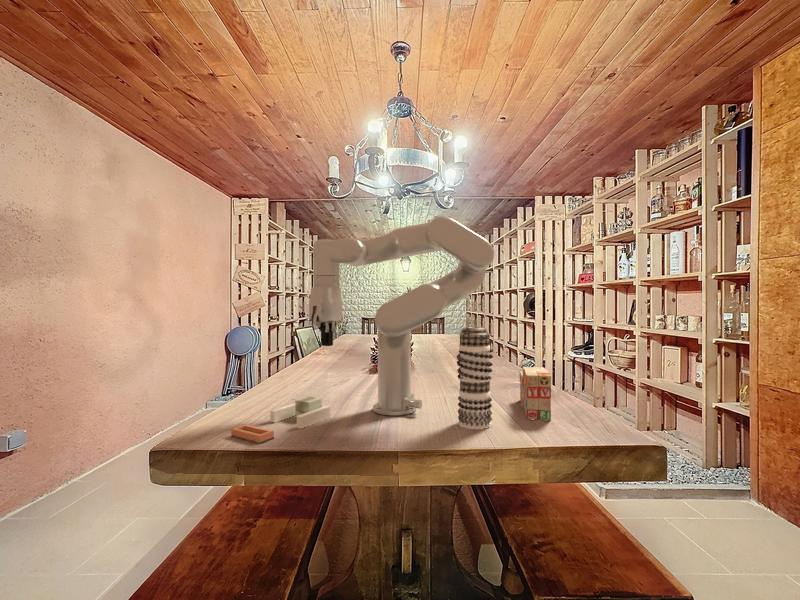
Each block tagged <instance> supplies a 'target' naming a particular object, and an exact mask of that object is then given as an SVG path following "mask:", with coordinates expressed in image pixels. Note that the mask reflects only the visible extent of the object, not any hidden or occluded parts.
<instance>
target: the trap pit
mask: <svg viewBox="0 0 800 600" xmlns="http://www.w3.org/2000/svg"><path fill="white" fill-rule="evenodd" d="M230 431H231V435H230V436H231V437H232V438H237V439H240V440H244V441H247V442H250V443H255V444H258V445H261V444H263V443H266V442H269V441H271V440H274V439H275V436H274V435H275V434H274V432H275V431H274V430H271V429H267V428H262V427H257V426H254V425H250V424H242V425H239V426H235V427H233V428H230Z"/></svg>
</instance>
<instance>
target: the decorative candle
mask: <svg viewBox="0 0 800 600" xmlns="http://www.w3.org/2000/svg"><path fill="white" fill-rule="evenodd" d="M457 334H458V335H459V344H458V354H457V355H456V358H457V359H456V360H457V361H456V364H457V365H456V366H458V369H457V373H458V374H457V378H458V380H459V391H458V393H459V396H458V397H457V400H458V403H457V405H458V407H459V408H458V410H457V412H458V416H457V418H458V423H457V424H458V426H460V427H461V428H464V429H467V430H474V429H481V430H484V429H483V428H487V429H489V428H488V427H490V426H491V424H492V422H491V421H493V418H492V416H491V415H493V412H492V410H491V408H492V407H493V405H492V404H491V402H492V401H493V399H492V397H491V389H490V388H491V387H490V382H491V381H492V378H493V377H492V376H491V375H490V373H492V372H493V369H492V368H491V367H492V366H493V362H490V360H492V358H494V355H492V352H493V351H494V349H492V348H491V345H490V334H491V333H490V332H488V330H487V328H486V327H484V326H465V327H462V329H461V331H460V332H458V333H457ZM491 427H492V426H491ZM491 427H490V428H491Z"/></svg>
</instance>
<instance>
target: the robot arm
mask: <svg viewBox="0 0 800 600" xmlns="http://www.w3.org/2000/svg"><path fill="white" fill-rule="evenodd" d="M440 251H444V252H446V253H447V254H448V255H450V256H451V257H453V258H455V259H456V260H459V262H458V266H457V267H456V268H455V269H454V270H452V271H451V272H449V273H447V274H445V275H443V276H441V277H439V278H438V279H435V280H434V281H431V282H429V283H425V284H424V283H423V284H421V285H419V286H417V287H415V288H413V289H411V290H408V291H407V292H405V293H403V294H401V295H399V296H397V297H396V298H395V297H394V298H392V300H389V301H387V302H384V303H383V304H381V305H380V306H379V308H378V309H377V310H376V313H375V316H374V324H375V327H376V328H377V399H378V400H377V401H378V402H376V403H375V404H373V406H372V411H373V412H374V413H376V414H379V415H382V416H383V415H384V416H395V417H396V416H404V415H410V414H412V413H414V412H415V413H416V410H417V409H418V410H419V409H420V410H421V409H422V408H423V400H422V399H416V398H415V394H414V393H412V385H411V384H412V381H411V380H412V379H411V378H412V376H411V375H412V371H411V369H412V365H411V362H412V361H411V358H412V357H411V356H412V351H411V350H412V349H411V348H412V347H411V345H412V343H411V339H412V338H411V337H412V335H411V333H412V332H411V331H413V330H415V329H416V328H419V327H421V326H422V325H424V324H426V323H429V322H431V321H433V320H435V319H436V318H438V317H440V315H441V314H442V313H443V312H444V310H445V309H447V308H448V307H452V306H453V305H455V304H456V303H458V302H460V301H462V300H463V299H466V298H467V297H469V296H470V295H473V294H474V293H475V292H476V291H477V290H478V289H479V287H481V285H482V283H483V281H484V278H485V276H486V273H487V268H488V267H489V266H490V265H491V264H492V263H493V261H494V258H495V250H494V247H493V246H492V244H491V243H490V242H489V241H488V240H487V239H486V238H485V237H483V236H481V235H479V234H478V233H476V232H474V231H473V230H471V229H469V228H468V227H466V226H465V225H463V224H462V223H460V222H458V221H457V220H455V219H453V218H452V217H449V216H446V215H439V216H437V217H434V218H433V219H432V220H431V221H430V222H429V221H428V222H424V223H420V224H414V225H409V226H403V227H398V228H394V229H393V230H392V231H390V232H388V233H386V234H384V235H381V236H378V237H375V238H370V239H365V240H359V239H357V238H354V237H347V238H340V239H328V238H327V239H325V238H324V239H317V240H314V242H313V245H312V255H313V256H312V257H313V258H312V262H313V265H312V266H313V267H312V268H313V269H312V270H313V274H312V275H313V283H312V284H313V286H312V287H311V288H310V295H309V302H308V303H309V304H308V319H309V321H310V322H312V326H313V327H316V328H317V329H318V330H319V332H320V345H321V346H322V347H331V346H333V345H334V332H335V329H336V326H338V325H340V323H341V320H342V318H343V297H342V291H341V287H340V286H341V285H340V283H341V282H340V281H341V279H340V278H341V277H340V264H343V265H344V264H345V265H349V266H351V267H361V266H362V267H363V266H368V265H372V264H377V263H382V262H386V261H392V260H397V259H398V260H399V259H403V258H408V257H412V256H417V255H423V254H428V253H434V252H440Z"/></svg>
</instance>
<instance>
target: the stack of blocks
mask: <svg viewBox="0 0 800 600" xmlns="http://www.w3.org/2000/svg"><path fill="white" fill-rule="evenodd" d="M519 392H520V394H519V395H520V397H519V398H520V403H522V404H521V407H522V406H523V407H522V409H523V408H524V409H523V412H524V411H525V412H524V416H525V415H526V416H525V418H526V420H527V419H534V420H533V421H536V420H548V421H547V422H551V421H552V410H551V407H552V405H551V404H552V403H551V402H552V401H551V400H552V375H551V374H550V372H549V371H548V370H547V369H546V368H545V367H543V366H540V367H539V366H522V371H521V370H520V371H519ZM549 420H550V421H549Z"/></svg>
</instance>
